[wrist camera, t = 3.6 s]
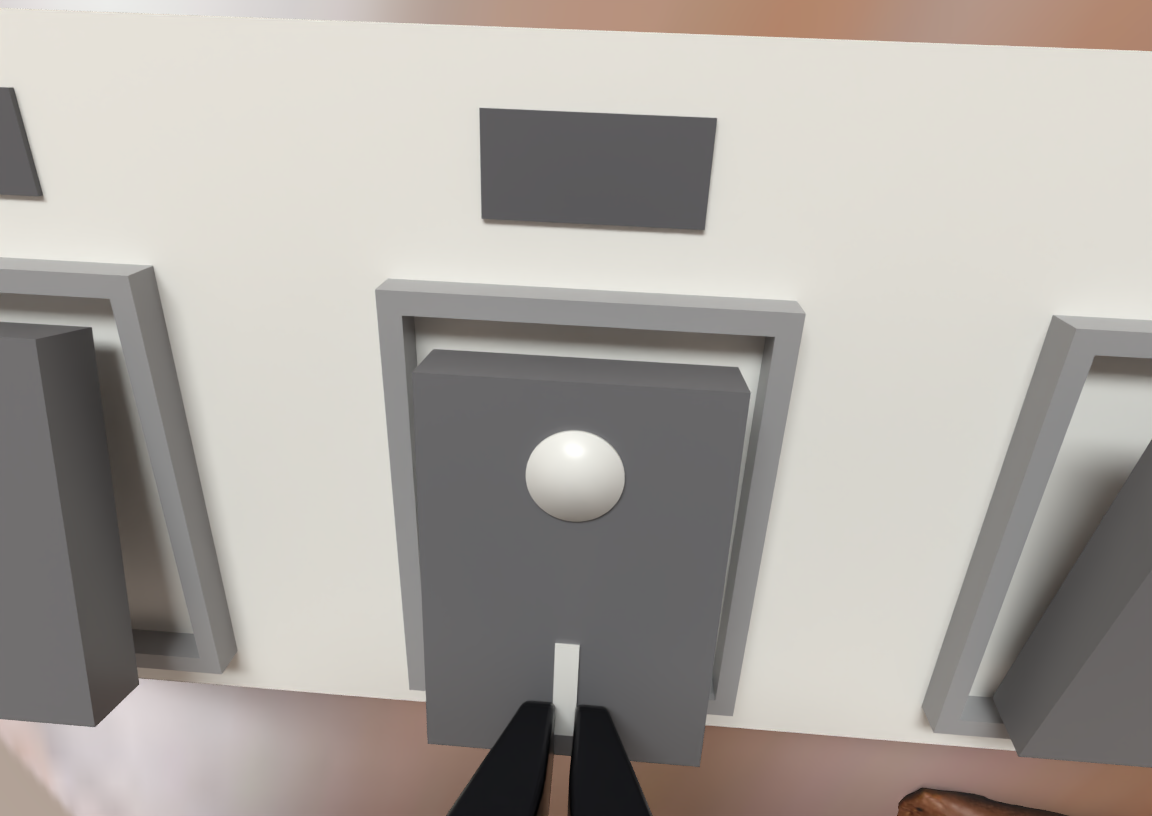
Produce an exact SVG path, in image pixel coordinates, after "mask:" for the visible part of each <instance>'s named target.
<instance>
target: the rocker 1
mask: <svg viewBox="0 0 1152 816" xmlns="http://www.w3.org/2000/svg"><path fill="white" fill-rule="evenodd" d="M138 685H139V679H138V671H137V664H136V656H135V649H134V641H133V634H132V626H131V619H130V611H129V603H128V596H127V588H126V581H125V573H124V566H123V558H122V551H121V543H120V536H119V528H118V520H117V513H116V505H115V498H114V490H113V483H112V475H111V468H110V460H109V453H108V445H107V438H106V430H105V422H104V415H103V407H102V400H101V392H100V385H99V377H98V370H97V362H96V355H95V347H94V339H93V332H92V327H81V326H65V325H48V324H31V323H14V322H0V719H7V720H19V721H30V722H42V723H53V724H65V725H76V726H88V727H96V726H97V725H98V724H99V723H100V722H101V721H102V720H103V719H104V718H105V717H106V716H107V715H108V714H109V713H110V712H111V711H112V710H113V709H114V708H115V707H116V706H117V705H118V704H119V703H120V702H121V701H122V700H123V699H124V698H125V697H126V696H127V695H129V694H130V693H131V692H132V691H133V690H134V689H135V688H136V687H137V686H138Z"/></svg>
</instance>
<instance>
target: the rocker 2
mask: <svg viewBox="0 0 1152 816" xmlns="http://www.w3.org/2000/svg"><path fill="white" fill-rule="evenodd" d="M992 698H993V700H994V702H995V705H996V707H997V709H998V711H999V714H1000V716H1001V718H1002V720H1003V723H1004V725H1005V727H1006V730H1007V732H1008V734H1009V736H1010V739H1011V741H1012V743H1013V745H1014V748H1015V750H1016V752H1017V755H1018V756H1019V757H1031V758H1043V759H1055V760H1067V761H1079V762H1091V763H1103V764H1115V765H1127V766H1139V767H1151V768H1152V439H1151V441H1150V443H1149V444H1148V446H1147V448H1146V449H1145V451H1144V452H1143V454H1142V456H1141V457H1140V459H1139V460H1138V462H1137V464H1136V465H1135V467H1134V469H1133V470H1132V472H1131V473H1130V475H1129V477H1128V478H1127V480H1126V481H1125V483H1124V485H1123V486H1122V488H1121V490H1120V491H1119V493H1118V494H1117V496H1116V498H1115V499H1114V501H1113V502H1112V504H1111V506H1110V507H1109V509H1108V511H1107V512H1106V514H1105V515H1104V517H1103V519H1102V520H1101V522H1100V523H1099V525H1098V527H1097V528H1096V530H1095V532H1094V533H1093V535H1092V536H1091V538H1090V540H1089V541H1088V543H1087V544H1086V546H1085V548H1084V549H1083V551H1082V553H1081V554H1080V556H1079V557H1078V559H1077V561H1076V562H1075V564H1074V565H1073V567H1072V569H1071V570H1070V572H1069V574H1068V575H1067V577H1066V578H1065V580H1064V582H1063V583H1062V585H1061V586H1060V588H1059V590H1058V591H1057V593H1056V595H1055V596H1054V598H1053V599H1052V601H1051V603H1050V604H1049V606H1048V607H1047V609H1046V611H1045V612H1044V614H1043V616H1042V617H1041V619H1040V620H1039V622H1038V624H1037V625H1036V627H1035V628H1034V630H1033V632H1032V633H1031V635H1030V637H1029V638H1028V640H1027V641H1026V643H1025V645H1024V646H1023V648H1022V649H1021V651H1020V653H1019V654H1018V656H1017V658H1016V659H1015V661H1014V662H1013V664H1012V666H1011V667H1010V669H1009V670H1008V672H1007V674H1006V675H1005V677H1004V679H1003V680H1002V682H1001V683H1000V685H999V687H998V688H997V690H996V691H995V693H994V695H993V696H992Z"/></svg>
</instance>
